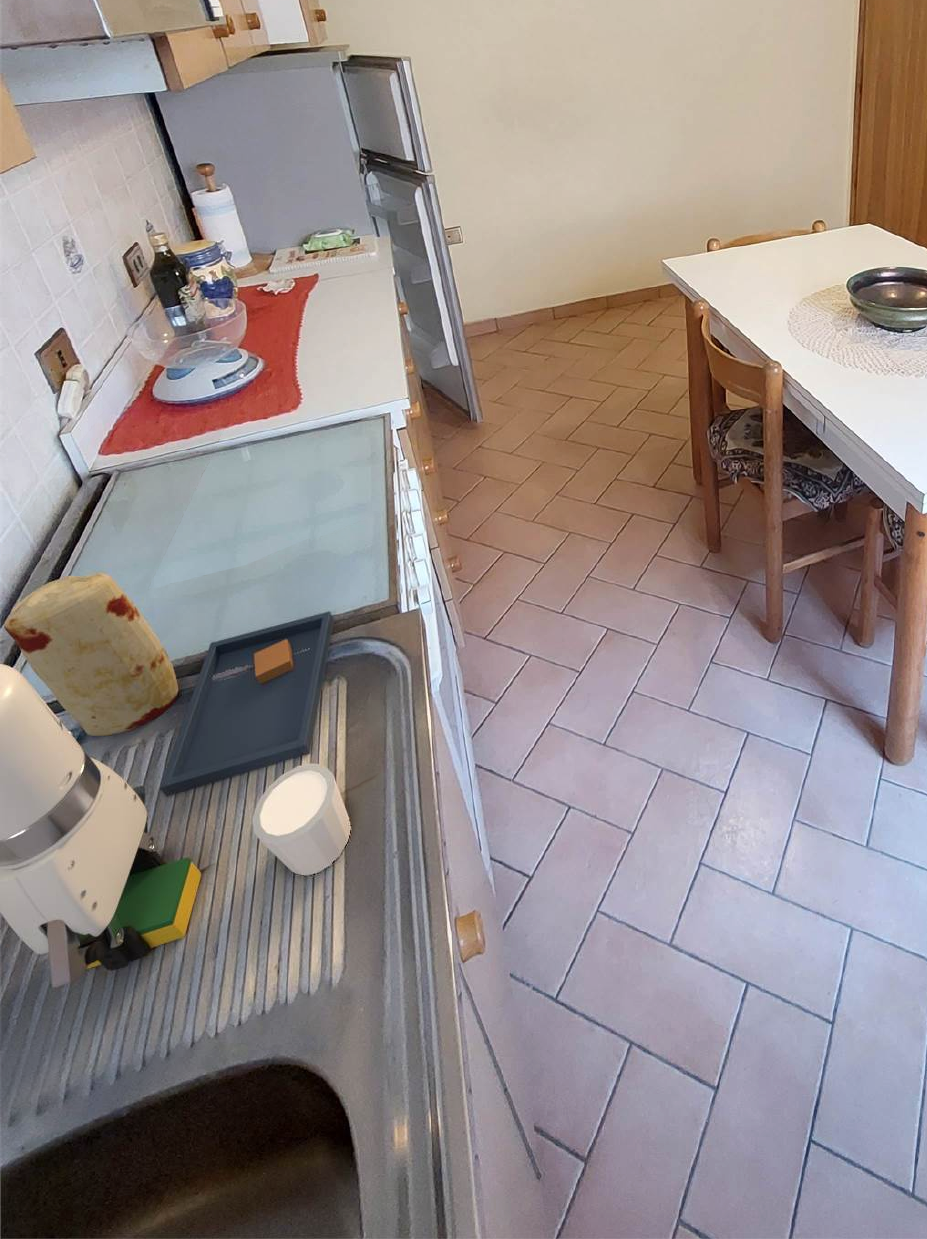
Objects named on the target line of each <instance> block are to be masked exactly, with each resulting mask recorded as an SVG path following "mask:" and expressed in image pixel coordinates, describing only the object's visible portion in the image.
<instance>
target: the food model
mask: <svg viewBox="0 0 927 1239" xmlns="http://www.w3.org/2000/svg"><path fill="white" fill-rule="evenodd" d="M3 628H4V630H5V631H6V632H7V634H8V635H9V636H10V637H11V638H12V639H13V640H14V641H15V643H16V644H17V646H18V647H19V649H20V651H21V653H22V655H23V657H24V658H25V660H26V661H27V663H28V664H29V666H30V668H31V669H32V670H33V672H34V673H35V674H36V676H37V677H38V678H39V679H40V680H41V681H42V683H44V684H45V686H46V687H47V688H48V689H49V690H50V692H51V693H52V694H53V697H55V699H56V701H58V703H59V704H60V705H61V707H62V708H63V709H64V710H65V711H66V712H67V713H68V714H69V715H70V716H71V717H72V718H73V719H74V720H76V722H77V723H78V724H79V725H80V726H81V728H82V729H83V731H84V732H85V733H86V734H87V735H89V736H92V737H93V736H94V737H100V736H102V737H103V736H110V735H116V734H120V733H124V732H128V731H131V730H134V729H136V728H138V727H141V726H143V725H145V724H147V723H148V722H151V721H152V720H155V719H157V718H159V717H160V716H162V714H164V713H165V712H166V711H168V710H169V709H170V708H171V707H172V706H173V705H174V704H175V701H176V700H177V697H178V694H179V685H178V680H177V676H176V672H175V669H174V666H173V663H172V661H171V659H170V658H169V655H168V653H167V652H166V650H165V647H164V646H163V644H162V642H161V641H160V639H159V638H158V636H157V635H156V633H155V631H154V630H153V629H152V627H151V626H150V624H149V623H148V622H147V620H146V619H145V618H144V616H143V615H142V613H141V611H140V610H139V609H138V607H137V606H136V605H135V603H133V601H132V600H131V598H129V597H128V596H127V594H126V593H125V592H124V591H123V589H121V587H120V586H119V585H118V584H117V583H116V582H115V581H114V579H113V578H112V577H111V576H110V575H109V574H107V573H103V572H102V573H100V572H99V573H92V574H88V575H84V576H76V575H67V576H64V577H62V578H58V579H55V580H53V581H52V580H51V581H49V582H47V583H45V584H44V585H42V586H40V587H38V588H37V589H35V590H34V591H32V592H31V593H29V594H28V595H27V596H25V597H24V598H23V599H22V600H21V601H20V602H18V603H17V604H16V605H15V607H13V609H12V611H11V612H10V613H9V615H8V616H7V618H6V620H5V621H4V624H3Z"/></svg>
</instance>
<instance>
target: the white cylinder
mask: <svg viewBox="0 0 927 1239" xmlns="http://www.w3.org/2000/svg"><path fill="white" fill-rule="evenodd" d="M251 820H252V832H253V834H254V835H255V836H256V837H257V838H258V840H259V841H260V842H261V843H262V844H263V845H264V846H265V847H266V848H267V849H268V851H270V852H271V853H272V854H273V855H274V856H275V857H276V858H277V859H278V860H279V861H280V862H282V864H284V865H285V866H286V867H287V869H288V870H290V871H291V873H293V872H294V873H298V874H301V875H308V874H314V873H317V872H318V871H320V870H322V869H324V868H326V867H328V866H329V865H331V864H332V862H333V861H334V860H335V859H336V857H338V856H339V854H340V853H341V851H342V850H343V849H344V847H345V845H346V844H347V842H348V839H349V835H350V836H351V834H350V830H351V831H352V826H350V825H351V821H349V820H350V817H349V814H348V811H347V808H346V806H345V803H344V800H343V798H342V795H341V792H340V788H339V787H338V783H337V781H336V778H335V775H334V773H333V772H332V771H331V770H330V769H329V768H328V767H327V766H326V765H324V764H319V763H314V762H312V763H307V764H301V765H297V766H295V767H293V768H292V769H290V770H288V771H286V772H285V773H283V774H281V775H280V776H279V777H278V778H276V779H275V780H274V782H272V783H271V784H270V785H269V786H268V787H267V788H266V790H265V791H264V792H263V794H262V795H261V797H260V798H259V800H258V801H257V802H256V806H255V809H254V811H253V815H252V817H251ZM349 840H350V839H349ZM347 845H348V844H347ZM332 865H333V864H332ZM332 865H331V866H332ZM294 873H293V874H294Z"/></svg>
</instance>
